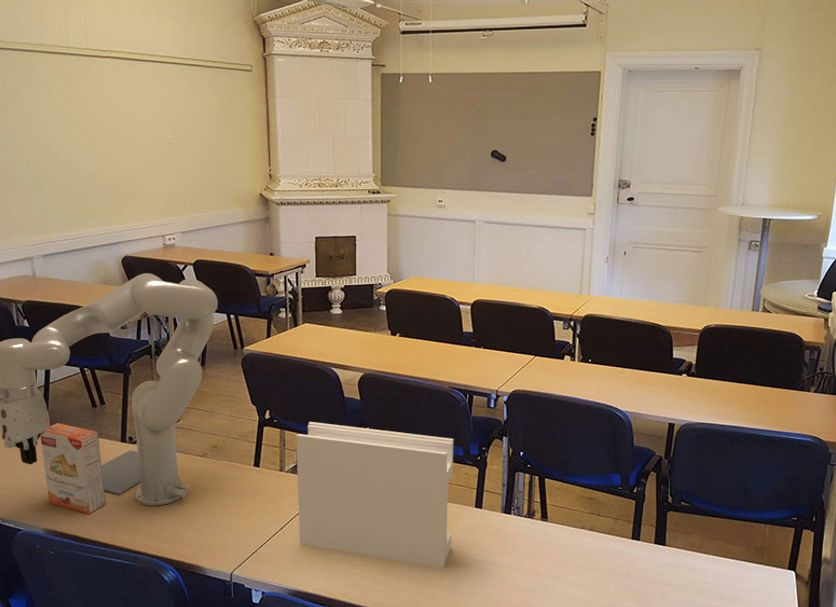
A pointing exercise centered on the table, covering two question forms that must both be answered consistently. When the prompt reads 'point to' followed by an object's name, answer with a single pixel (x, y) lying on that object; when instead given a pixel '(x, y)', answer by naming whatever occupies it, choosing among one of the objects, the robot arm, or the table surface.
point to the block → (374, 492)
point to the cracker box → (73, 468)
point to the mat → (121, 473)
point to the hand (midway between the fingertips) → (29, 462)
